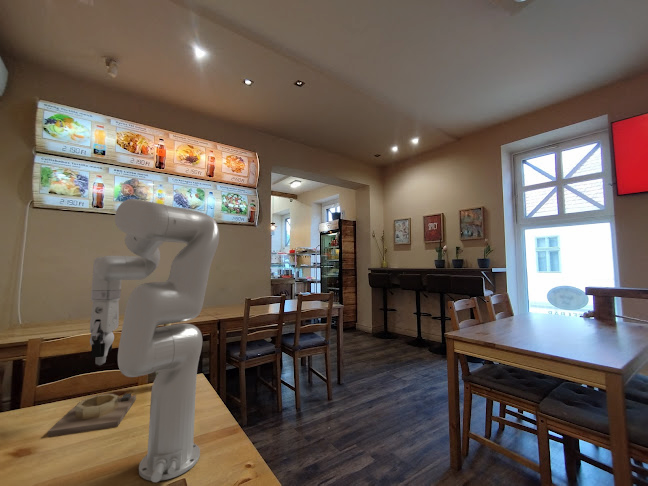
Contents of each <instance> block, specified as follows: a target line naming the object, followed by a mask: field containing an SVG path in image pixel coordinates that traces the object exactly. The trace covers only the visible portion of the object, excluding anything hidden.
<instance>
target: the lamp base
mask: <svg viewBox="0 0 648 486" xmlns="http://www.w3.org/2000/svg"><path fill="white" fill-rule="evenodd" d="M136 399H137V394H135V395H134V394H133V395H132V393H131V392H130V393H124V394H123V395H122V396H119V400H118V407H117V408H116V409H115V410H114V412H111V413H109V414H106V415H104V416H101V417H99V418H91V419H84V420H82V419H80V418H77V417H75V414H76V406H77V405H78V404H79V403H80V402H81V401H79V402H78V403H77V404H76V405H75V406H73V407H72V408H71V409H70V410H69V411H67V413H66V414H65V415H64V416H62V417H61V419H59V420H58V421H57V422H56V423H55V424H54V425H53V426H52V427H51V428H50V429H49V430H48V431H47V438H51V437H56V436H63V435H64V436H65V435H70V434H76V433H77V434H78V433H84V432H91V431H97V430H105V429H110V428H111V429H112V428H117V427H119V425H120V424H121V423H122V421H123V419H124V418H125V417H126V415H127V413H129V410H130V409H131V408H132V406H133V405H134V404H135V401H136Z"/></svg>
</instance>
